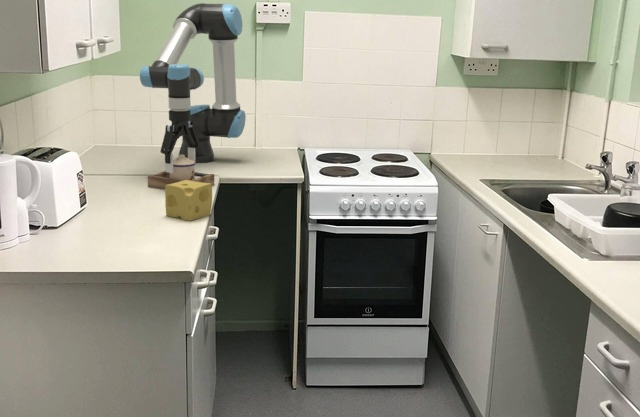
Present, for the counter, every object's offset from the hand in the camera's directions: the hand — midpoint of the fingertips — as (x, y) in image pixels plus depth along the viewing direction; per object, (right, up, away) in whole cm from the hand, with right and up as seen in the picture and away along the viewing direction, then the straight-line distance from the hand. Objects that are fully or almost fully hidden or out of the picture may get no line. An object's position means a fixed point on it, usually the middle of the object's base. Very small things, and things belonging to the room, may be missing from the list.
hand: (181, 168), depth 250 cm
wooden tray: (0, -6, +1) cm, 6 cm away
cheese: (+9, -17, -35) cm, 40 cm away
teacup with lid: (0, -6, +2) cm, 7 cm away
